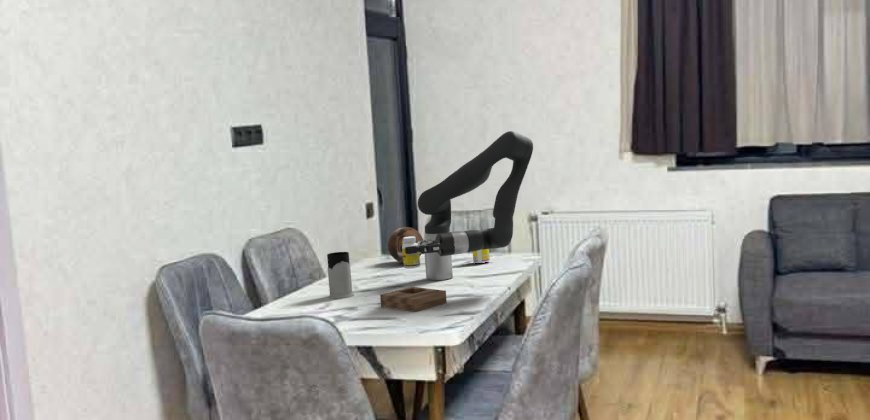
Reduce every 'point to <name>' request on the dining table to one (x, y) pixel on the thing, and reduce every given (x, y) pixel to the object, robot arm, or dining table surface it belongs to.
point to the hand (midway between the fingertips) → (402, 249)
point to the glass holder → (339, 275)
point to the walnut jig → (413, 298)
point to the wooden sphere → (401, 241)
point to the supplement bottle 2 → (481, 256)
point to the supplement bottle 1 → (413, 258)
